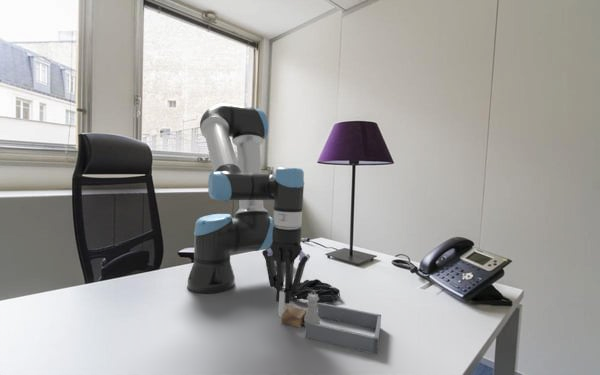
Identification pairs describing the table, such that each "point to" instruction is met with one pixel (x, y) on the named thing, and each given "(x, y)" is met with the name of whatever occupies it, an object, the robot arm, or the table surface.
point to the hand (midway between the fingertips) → (282, 313)
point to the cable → (323, 295)
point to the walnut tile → (293, 316)
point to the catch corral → (344, 336)
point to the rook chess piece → (312, 309)
